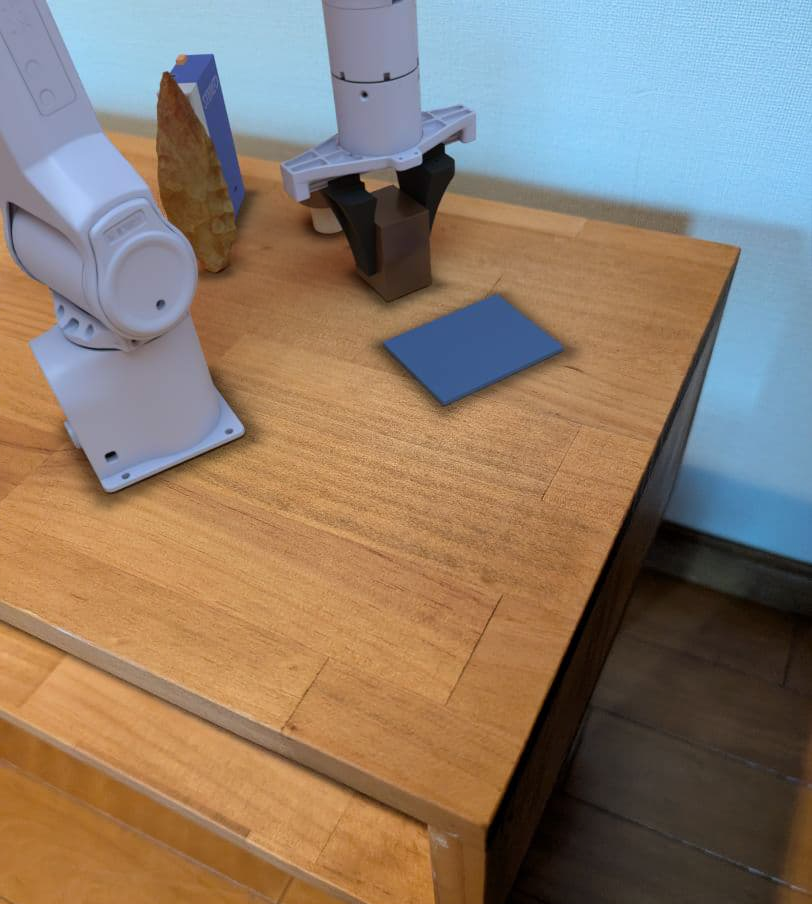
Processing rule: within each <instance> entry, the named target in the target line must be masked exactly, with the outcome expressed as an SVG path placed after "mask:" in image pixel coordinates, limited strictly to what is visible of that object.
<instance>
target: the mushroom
mask: <svg viewBox="0 0 812 904" xmlns="http://www.w3.org/2000/svg"><path fill="white" fill-rule="evenodd" d="M298 204H300V205H301V206H304V207H306V208H310V212H311V213H310V214H311V219H312V225H313V228H314V230H315V231H316V232H318V233H320V234H328V235H329V234H336V233H339V232H342V231H343V230H342V227H341V225H340V224H339V222H338V220H337V218H336V216H335V215H334V213H333V211H332V210H331V208H330V206H329V205H328V203H327V202H326V200H325V199H324V197H323V196H322V195H321V193H320V192H319V190H316V191H313V192H311V193H310V197H309V198H308V199H306V200H303V201H300V202H298Z"/></svg>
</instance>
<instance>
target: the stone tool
mask: <svg viewBox="0 0 812 904" xmlns="http://www.w3.org/2000/svg"><path fill="white" fill-rule="evenodd" d="M159 89H160V91H159V90H158V91H159V96H158V97H157V103H156V122H157V123H156V127H157V129H156V139H155V140H156V142H155V144H156V145H155V152H156V156H157V171H156V172H157V183H158V192H159V198H160V202H161V204H162V208H163V211H164V213H165V215H166V217H167V218H166V219H167V220H168V222H170V223H171V224H172V225H173V226H175V227H176V228H177V229H178V230H180V231H181V232H182V233H183V235H184V236H185V237H186V238H187V239H188V241H189V243H190V244H191V246H192V248H193V251H194V253H195V256H196V260H198V261H199V262H200V263H201V265H202V266H203V267H204V268H205V269H206V270H208V271H210V272H212V273H214V274H215V273H218V272H219V271H221V270H222V269H224V268H226V267H227V266H229V263H231V258H232V247H233V244H234V242H235V241H237V227H236V224H235V221H236V219H235V220H234V215H235V214H234V209H233V204H232V202H231V200H230V198H229V192H228V185H227V183H226V181H225V179H224V177H223V172H222V167H221V164H220V161H219V160H218V157H217V154H216V149H215V147H214V143H213V141H212V140H211V138H210V137H209V136H208V135H207V133H206V130H205V128H204V126H203V124H202V123H201V121H200V120H199V118H198V116H197V115H196V114H195V112H194V109H193V107H192V106H191V103H190V101H189V100H188V99H187V97H186V95H185V94H184V93H183V91H182V89H181V88H180V87H179V86H178V83H177V82H176V81H175V80H174V78H173V77H172V75H171V74H170V71H168V70H166V71H163V72H162V73H161V79H160V82H159Z"/></svg>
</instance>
